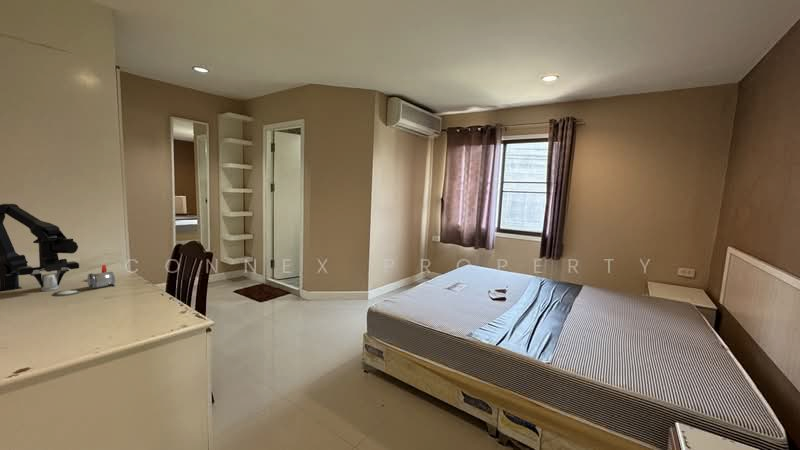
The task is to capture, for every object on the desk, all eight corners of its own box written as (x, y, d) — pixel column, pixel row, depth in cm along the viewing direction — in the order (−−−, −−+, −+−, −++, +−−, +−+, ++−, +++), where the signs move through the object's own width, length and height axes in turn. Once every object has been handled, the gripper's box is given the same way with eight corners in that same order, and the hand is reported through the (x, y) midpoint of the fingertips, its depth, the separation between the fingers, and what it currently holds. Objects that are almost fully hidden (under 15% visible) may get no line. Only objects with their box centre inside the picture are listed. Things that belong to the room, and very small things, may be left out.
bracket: (95, 279, 165) (94, 264, 165) (106, 278, 168) (106, 263, 167) (90, 285, 156) (90, 269, 155) (103, 284, 158) (102, 268, 158)
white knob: (40, 289, 146) (39, 274, 145) (57, 287, 150) (56, 272, 150) (43, 292, 143) (42, 276, 142) (60, 289, 147) (59, 274, 147)
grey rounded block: (87, 287, 152) (86, 272, 151) (108, 284, 158) (108, 269, 158) (93, 290, 147) (93, 275, 147) (115, 287, 154) (115, 272, 153)
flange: (50, 293, 141) (50, 292, 141) (78, 288, 149) (78, 287, 149) (56, 297, 137) (56, 296, 137) (84, 292, 144) (84, 291, 144)
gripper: (21, 258, 133) (23, 294, 134) (82, 252, 149) (83, 285, 150) (15, 254, 139) (17, 289, 140) (74, 249, 155) (76, 281, 156)
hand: (50, 286), depth 146 cm, fingers closed on white knob, 5 cm apart
